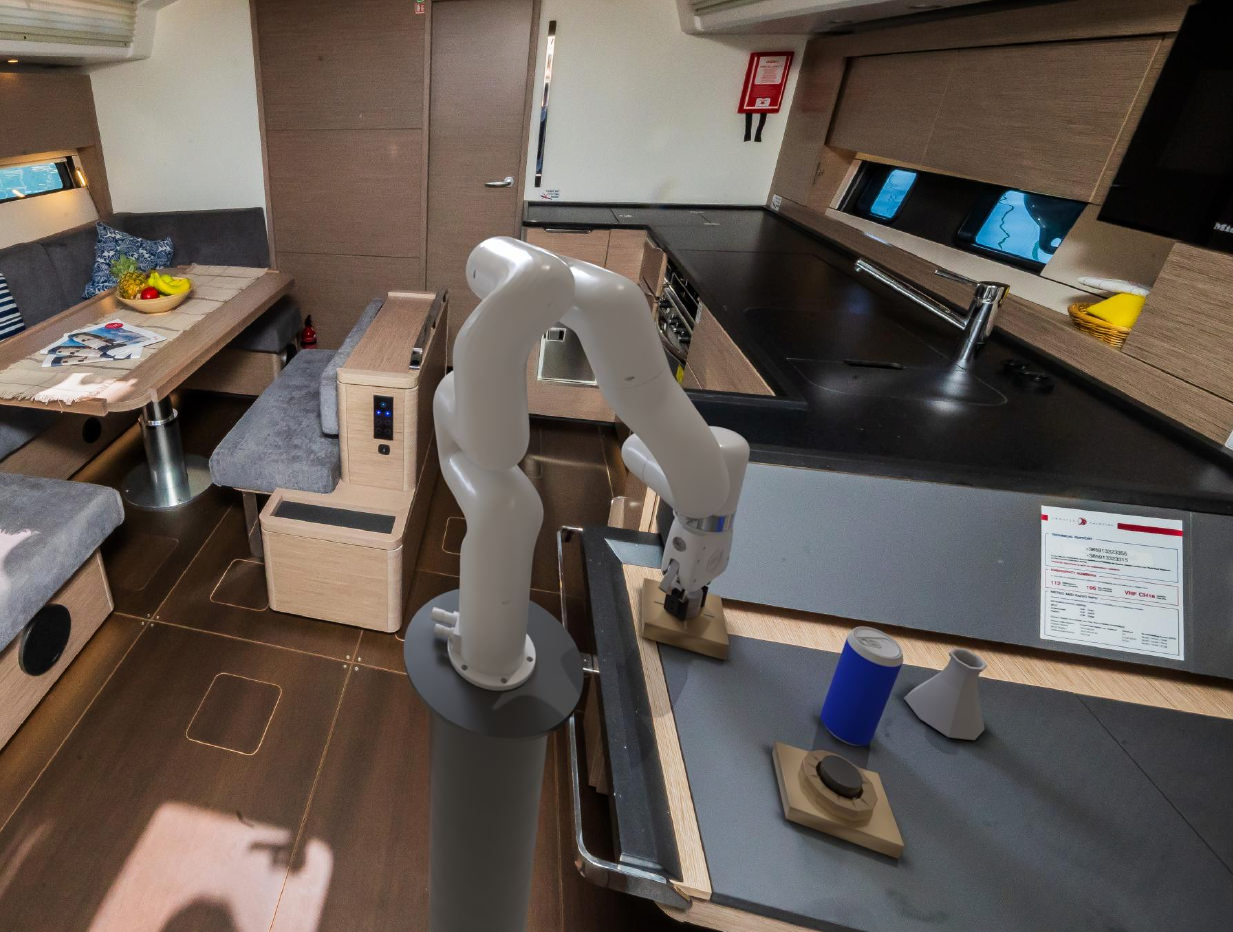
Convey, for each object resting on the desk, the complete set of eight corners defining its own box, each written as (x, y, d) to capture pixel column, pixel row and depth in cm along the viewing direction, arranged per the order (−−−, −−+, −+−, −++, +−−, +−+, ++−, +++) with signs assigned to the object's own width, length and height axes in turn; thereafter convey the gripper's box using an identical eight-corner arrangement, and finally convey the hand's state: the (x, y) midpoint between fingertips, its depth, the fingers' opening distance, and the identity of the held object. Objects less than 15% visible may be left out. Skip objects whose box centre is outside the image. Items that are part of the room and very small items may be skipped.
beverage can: (856, 714, 77) (889, 628, 72) (879, 753, 72) (916, 664, 67) (811, 707, 78) (840, 621, 73) (831, 744, 74) (863, 656, 68)
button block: (785, 819, 66) (793, 796, 65) (771, 753, 73) (778, 731, 72) (898, 859, 62) (910, 836, 61) (873, 785, 69) (882, 763, 68)
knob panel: (642, 637, 90) (644, 621, 89) (641, 591, 98) (644, 576, 97) (725, 660, 85) (729, 644, 84) (717, 610, 94) (721, 595, 93)
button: (823, 790, 66) (826, 780, 65) (814, 760, 69) (818, 750, 68) (863, 804, 64) (867, 793, 64) (853, 772, 67) (857, 762, 67)
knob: (685, 622, 88) (690, 600, 87) (663, 603, 92) (667, 582, 90) (704, 613, 90) (709, 591, 88) (682, 595, 93) (686, 574, 92)
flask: (949, 747, 73) (976, 689, 69) (890, 694, 79) (913, 639, 76) (998, 736, 74) (1028, 679, 70) (936, 685, 80) (960, 630, 77)
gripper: (694, 547, 77) (673, 650, 84) (763, 503, 85) (739, 601, 91) (643, 516, 83) (626, 615, 90) (712, 479, 91) (692, 572, 98)
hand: (683, 607), depth 91 cm, fingers closed on knob, 4 cm apart
